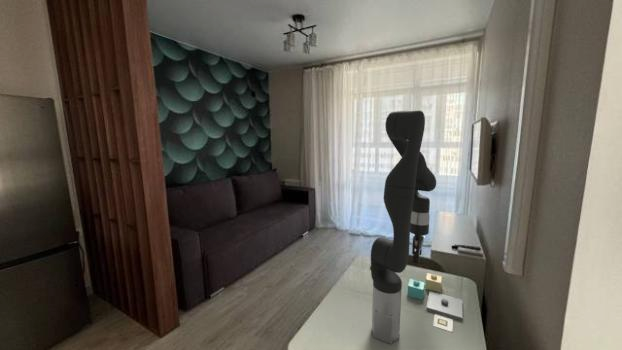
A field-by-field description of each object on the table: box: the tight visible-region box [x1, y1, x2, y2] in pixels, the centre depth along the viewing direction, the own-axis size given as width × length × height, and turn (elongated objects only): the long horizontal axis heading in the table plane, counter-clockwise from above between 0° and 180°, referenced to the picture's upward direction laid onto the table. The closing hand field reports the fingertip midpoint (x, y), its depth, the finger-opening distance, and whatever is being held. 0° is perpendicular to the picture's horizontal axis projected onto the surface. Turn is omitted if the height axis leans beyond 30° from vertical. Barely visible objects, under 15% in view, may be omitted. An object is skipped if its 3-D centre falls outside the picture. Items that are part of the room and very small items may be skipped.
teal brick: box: [406, 278, 426, 301], centre depth 108 cm, size 6×6×6 cm
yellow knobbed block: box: [425, 272, 443, 293], centre depth 112 cm, size 6×6×6 cm
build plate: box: [426, 290, 464, 322], centre depth 100 cm, size 12×12×2 cm
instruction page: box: [432, 313, 454, 333], centre depth 91 cm, size 7×6×1 cm
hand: (417, 258), depth 106 cm, fingers open, 8 cm apart
